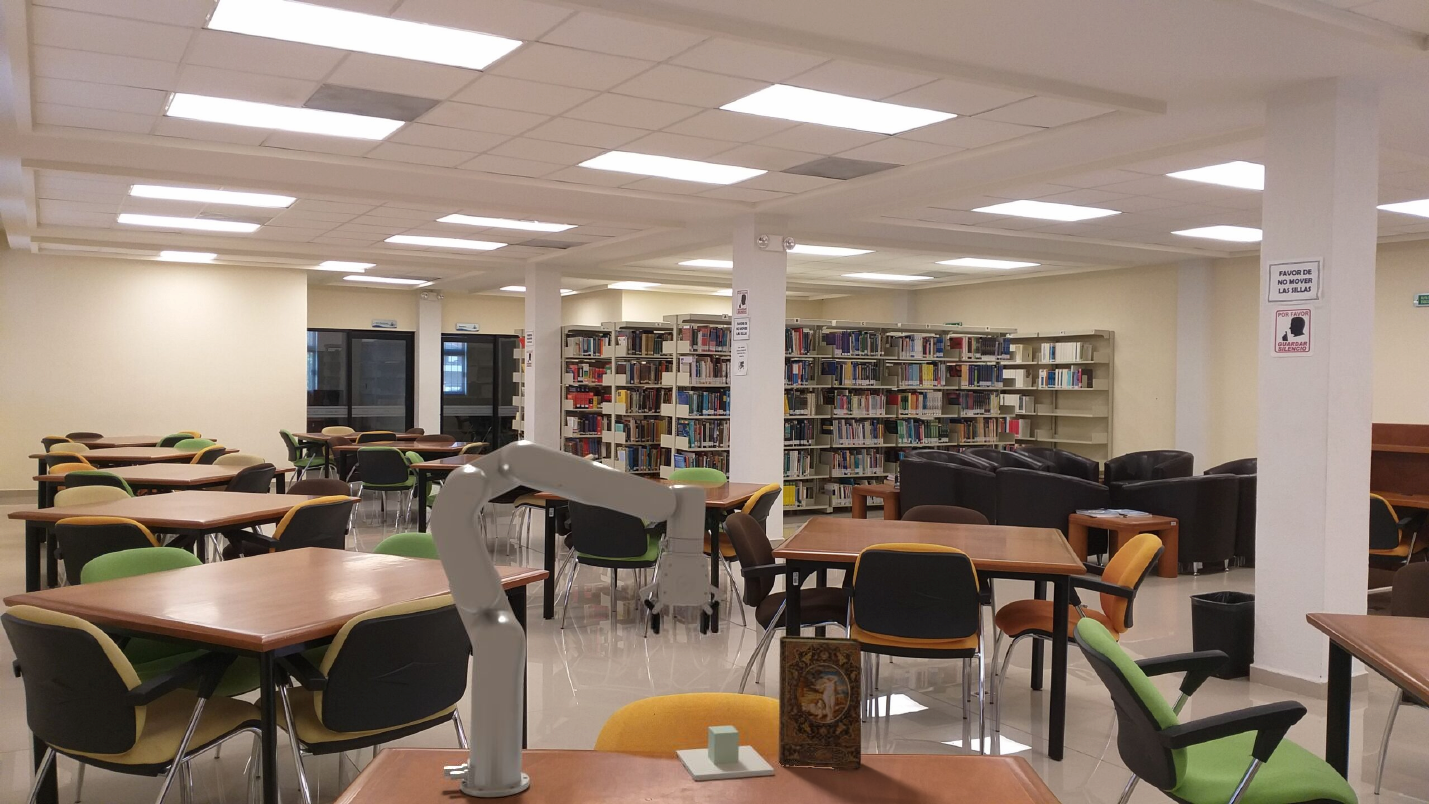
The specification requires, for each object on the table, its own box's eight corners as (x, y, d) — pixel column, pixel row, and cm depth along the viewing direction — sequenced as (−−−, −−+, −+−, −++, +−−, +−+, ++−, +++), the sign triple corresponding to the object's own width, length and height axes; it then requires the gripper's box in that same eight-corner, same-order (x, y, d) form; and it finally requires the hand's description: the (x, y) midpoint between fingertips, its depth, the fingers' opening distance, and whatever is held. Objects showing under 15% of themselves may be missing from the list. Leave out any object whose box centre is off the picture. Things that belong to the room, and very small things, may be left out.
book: (778, 767, 194) (779, 640, 195) (779, 758, 199) (780, 635, 201) (861, 770, 192) (861, 643, 194) (859, 762, 198) (860, 638, 199)
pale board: (694, 780, 185) (694, 775, 185) (675, 755, 200) (676, 750, 200) (774, 774, 189) (774, 769, 189) (749, 750, 204) (749, 745, 204)
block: (714, 764, 192) (714, 733, 192) (708, 756, 196) (708, 726, 197) (738, 762, 193) (738, 732, 193) (731, 755, 198) (732, 725, 198)
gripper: (645, 547, 188) (640, 636, 187) (731, 550, 192) (726, 637, 191) (638, 543, 195) (633, 629, 194) (721, 546, 199) (716, 630, 198)
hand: (679, 633), depth 192 cm, fingers open, 9 cm apart
